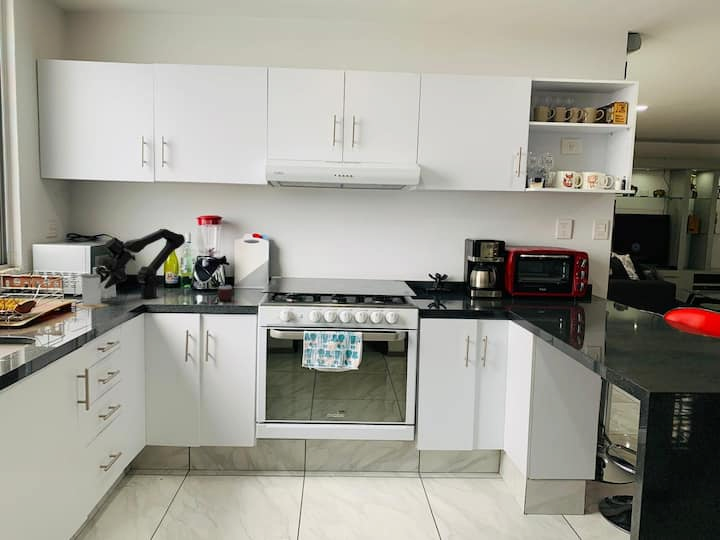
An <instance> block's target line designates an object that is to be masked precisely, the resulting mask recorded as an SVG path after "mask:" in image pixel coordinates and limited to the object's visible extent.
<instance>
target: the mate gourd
mask: <svg viewBox="0 0 720 540" xmlns="http://www.w3.org/2000/svg"><path fill="white" fill-rule="evenodd" d="M214 272H215V274H217V275H218V277H219V279H220V283H221V285H219V286H218V289H217V294H218V295H217V296H218V302H219V303H228V302H232V301H233V300H232V298H233V293H234V292H233V287H232V285H231V284H224V283H223V282H224V281H223V280H222V277H221V275H220V274H219V273H218V272H217V271H216V270H214Z"/></svg>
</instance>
